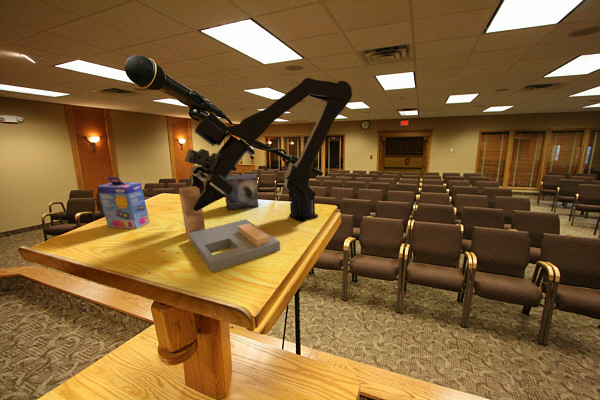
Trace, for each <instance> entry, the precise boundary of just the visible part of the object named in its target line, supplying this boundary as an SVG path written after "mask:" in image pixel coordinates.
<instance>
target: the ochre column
mask: <svg viewBox="0 0 600 400" xmlns="http://www.w3.org/2000/svg"><path fill="white" fill-rule="evenodd" d="M178 192H179V198H180V205H181V212H182V216H183V223H184V229H185V233H186V234H187V236H188V237H189V234H188V233H192V232H196V231H200V230H204V229H206V227H205V226H206V225H205V220H204V219H205V218H204V211H203V208H202V209H200V210H198V211H195V210H194V209H193V207H194V205H195V204H196V202H197V200H198V198H199V197H200V195H201V194H200V189H199V188H197V187H196V186H192V187H190V186H186V187H180V188H178Z"/></svg>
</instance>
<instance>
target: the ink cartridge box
mask: <svg viewBox="0 0 600 400" xmlns="http://www.w3.org/2000/svg"><path fill="white" fill-rule="evenodd" d="M106 178H107V179H108V181H110V182H108V183H103V184H100V185H98V186H97V185H96V189H97V192H98V196H99V198H100V199H99V200H100V203H101V207H102V210H103V213H104V217H105V221H106V224H107V227H108V228H119V229H133V230H136V229H138V228H141V227H143V226H145V225H147V224H149V223H150V216H149V213H148V209H147V205H146V201H145V196H144V192H143V187H142V183H141V182H131V181H130V182H124V181H122V180H121V178H120V177H117V176H107V177H106Z"/></svg>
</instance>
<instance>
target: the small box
mask: <svg viewBox="0 0 600 400" xmlns="http://www.w3.org/2000/svg"><path fill="white" fill-rule="evenodd" d="M226 179H227V180H228V181H229V182H231V183H232V184H233V185H234V191H233V192H232V194H231V195H230V196H228V195H227V194H224V195H225V196H226V197H225V204H226V210H227V211H233V210H242V209H244V210H245V209H252V208H259V196H258V182H257V176H256V174H255V173H249V174H238V175H228V177H227V178H226Z"/></svg>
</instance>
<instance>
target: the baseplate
mask: <svg viewBox="0 0 600 400" xmlns="http://www.w3.org/2000/svg"><path fill="white" fill-rule="evenodd" d="M188 234H189V236H188V239H189V242H190V243H191V245H192V246H193V247H194V249H195V251H196V252H197V253H198V254H199V256H200V258H201V259H202V260H203V262H204V263H205V264H206V266H207V267H208V269H209V270H210V271H211V273H216V272H218V271H222V270H225V269H228V268H231V267H233V266H236V265H239V264H243V263H245V262H248V261H251V260H254V259H257V258H260V257H263V256H266V255H269V254H272V253H274V252H278V251H280V250H281V243H280V240H278V239H277V238H275V237H274V236H272V235H270V234H269V233H268V232H266V231H264V230H263V229H261V228H260V227H259V226H257V225H255V224H254V223H252V222H250V221H249V220H248V219H247V218H245V219H241V220H238V221H237V220H236V221H233V222H229V223H224V224H221V225H217V226H213V227H209V228H205V229H204V230H200V231H196V232H192V233H188ZM228 247H230V248H231V249H228V250H223V251H220V252H217V251H219V250H222V249H225V248H226V249H227V248H228ZM215 251H216V252H217V253H215V254H212V253H213V252H215Z"/></svg>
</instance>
